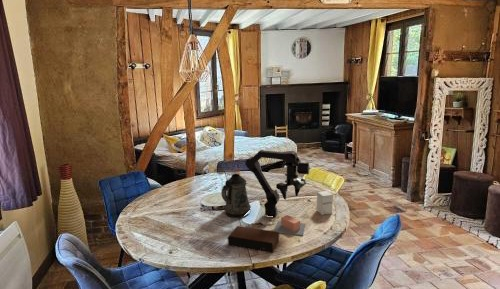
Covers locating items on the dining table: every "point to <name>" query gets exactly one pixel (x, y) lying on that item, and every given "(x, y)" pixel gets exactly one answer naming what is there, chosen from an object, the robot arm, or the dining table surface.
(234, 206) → the beer stein
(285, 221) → the brick-red block
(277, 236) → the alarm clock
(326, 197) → the supplement box
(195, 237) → the dining table surface
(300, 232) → the rubber mat
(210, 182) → the dining table surface
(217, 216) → the dining table surface
